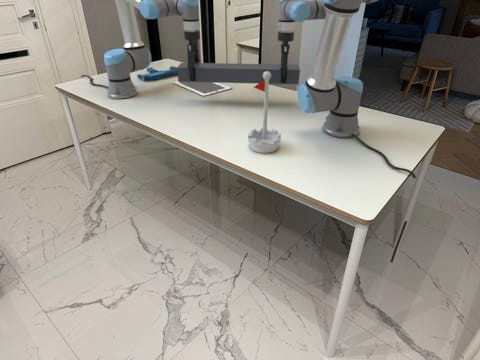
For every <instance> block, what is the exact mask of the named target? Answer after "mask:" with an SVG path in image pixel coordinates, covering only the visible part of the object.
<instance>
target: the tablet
mask: <svg viewBox="0 0 480 360" xmlns="http://www.w3.org/2000/svg"><path fill="white" fill-rule="evenodd" d="M172 84H174V85H177V86H179V87H181V88H184V89H186V90H187V91H190V92H193V93H195V94H197V95H199V96H202V97H207V96H210V95H214V94H217V93H221V92H224V91H229V90H232V87H230V86H227V85H224V84H223V83H213V82H178V80H177V81H173V82H172Z"/></svg>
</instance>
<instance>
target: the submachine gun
mask: <svg viewBox="0 0 480 360" xmlns="http://www.w3.org/2000/svg"><path fill="white" fill-rule="evenodd" d="M177 67H178V66H174V65H172V66H169V69H167V70H157V69H154V68H153V67H147V68H146V71H147V72H149V73H145V74H143V73H142V74H141V73H138V74H136V78H138V79H139V80H141V81H145V82H146V81H152V80H153V81H156V79H159V78H164V77H168V76H172V75H178V74H177Z"/></svg>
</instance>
